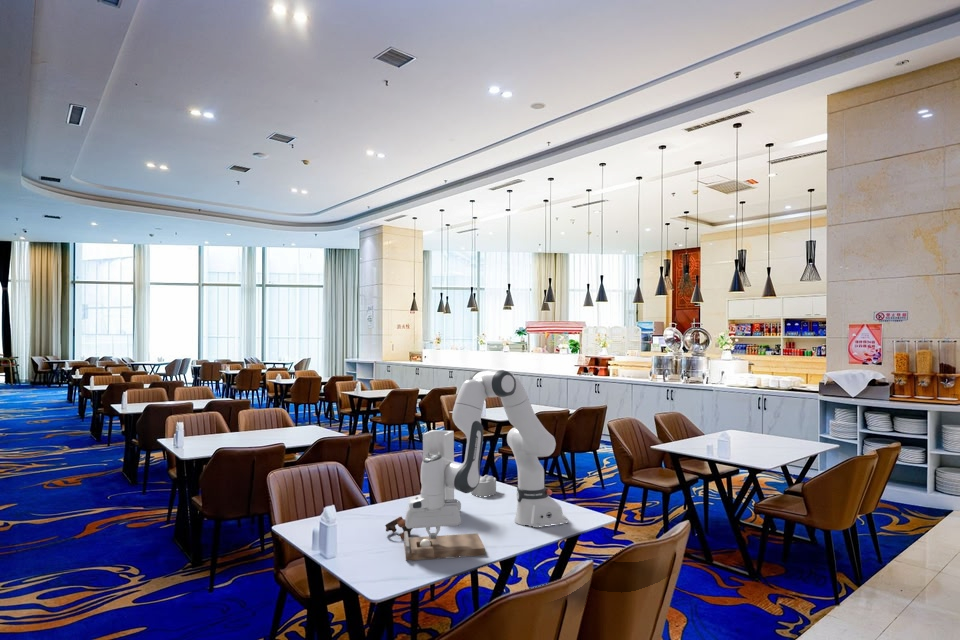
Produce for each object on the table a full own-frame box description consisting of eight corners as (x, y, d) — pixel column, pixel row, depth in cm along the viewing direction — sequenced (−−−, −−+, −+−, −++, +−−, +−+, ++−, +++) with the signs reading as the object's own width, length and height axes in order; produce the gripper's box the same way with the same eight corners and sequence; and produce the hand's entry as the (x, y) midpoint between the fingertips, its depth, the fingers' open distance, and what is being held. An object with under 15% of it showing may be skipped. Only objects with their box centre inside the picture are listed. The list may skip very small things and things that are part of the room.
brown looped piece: (396, 543, 219) (387, 523, 221) (388, 547, 227) (379, 527, 229) (422, 529, 226) (413, 509, 229) (414, 533, 234) (405, 514, 236)
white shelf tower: (432, 506, 266) (431, 430, 267) (454, 508, 263) (453, 431, 264) (423, 513, 255) (422, 434, 256) (446, 515, 252) (445, 435, 253)
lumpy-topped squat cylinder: (468, 494, 286) (468, 477, 286) (485, 489, 295) (485, 472, 295) (483, 498, 279) (483, 480, 279) (501, 493, 288) (501, 475, 288)
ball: (432, 541, 212) (424, 534, 212) (433, 546, 208) (425, 539, 208) (425, 550, 212) (417, 543, 211) (426, 554, 208) (417, 547, 207)
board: (477, 539, 221) (477, 526, 221) (485, 555, 205) (484, 541, 206) (404, 544, 216) (404, 531, 217) (406, 560, 201) (405, 546, 201)
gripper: (459, 496, 216) (460, 533, 215) (404, 499, 212) (404, 537, 212) (462, 501, 210) (462, 539, 209) (405, 504, 206) (405, 543, 206)
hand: (433, 538), depth 210 cm, fingers closed
